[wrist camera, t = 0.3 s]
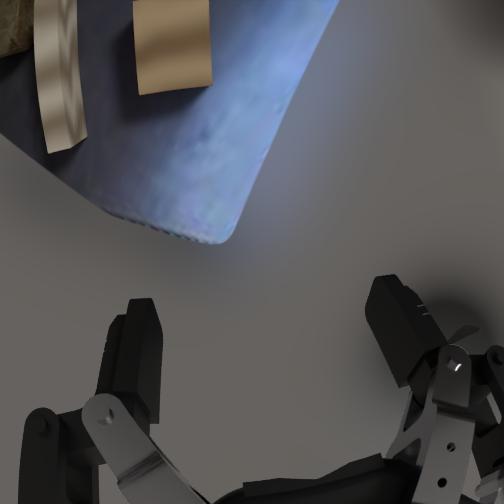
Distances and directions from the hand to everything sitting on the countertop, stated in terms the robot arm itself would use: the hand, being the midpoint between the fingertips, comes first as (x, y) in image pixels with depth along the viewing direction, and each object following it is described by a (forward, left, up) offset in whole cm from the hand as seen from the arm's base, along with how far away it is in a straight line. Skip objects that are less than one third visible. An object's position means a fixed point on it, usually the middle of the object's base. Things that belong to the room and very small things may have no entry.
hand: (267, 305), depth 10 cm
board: (-11, -18, -27) cm, 34 cm away
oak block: (-11, -5, -27) cm, 30 cm away
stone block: (-21, -25, -27) cm, 42 cm away
